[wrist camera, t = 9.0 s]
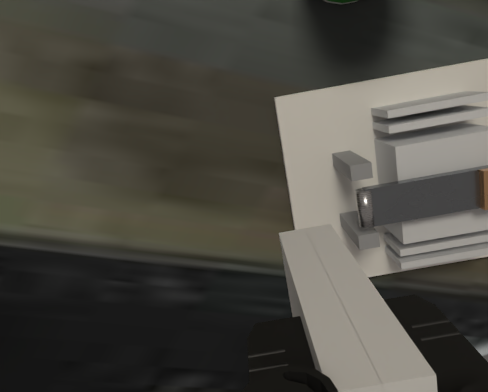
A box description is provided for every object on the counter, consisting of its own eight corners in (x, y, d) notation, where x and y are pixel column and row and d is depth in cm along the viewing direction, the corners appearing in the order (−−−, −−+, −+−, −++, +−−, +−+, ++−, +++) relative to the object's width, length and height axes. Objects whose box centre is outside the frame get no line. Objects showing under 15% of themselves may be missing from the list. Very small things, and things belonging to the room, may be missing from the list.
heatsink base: (302, 283, 41) (321, 336, 33) (273, 97, 37) (286, 101, 28) (548, 241, 41) (633, 282, 32) (549, 47, 36) (648, 34, 28)
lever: (357, 224, 33) (363, 231, 32) (353, 188, 32) (359, 193, 31) (537, 193, 33) (552, 198, 31) (537, 155, 32) (552, 159, 31)
